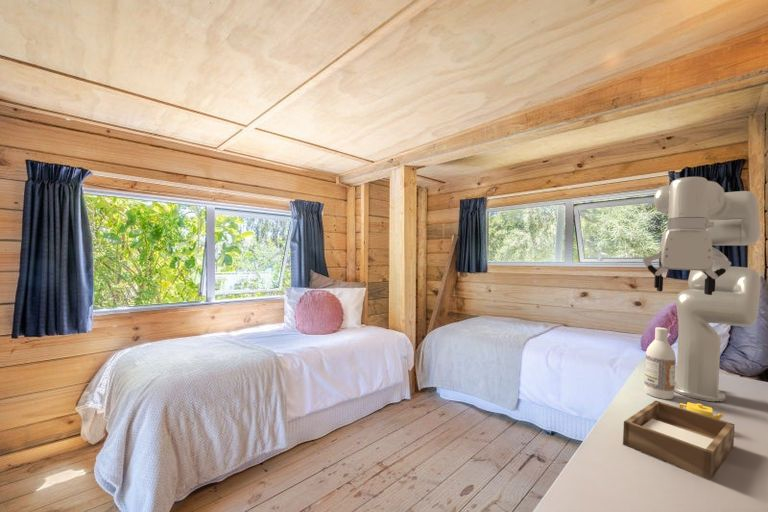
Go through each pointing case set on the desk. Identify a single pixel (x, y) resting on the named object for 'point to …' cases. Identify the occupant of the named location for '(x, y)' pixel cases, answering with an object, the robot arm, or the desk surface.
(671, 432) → the plate
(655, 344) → the bath foam
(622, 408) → the desk surface
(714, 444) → the box
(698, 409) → the teapot
